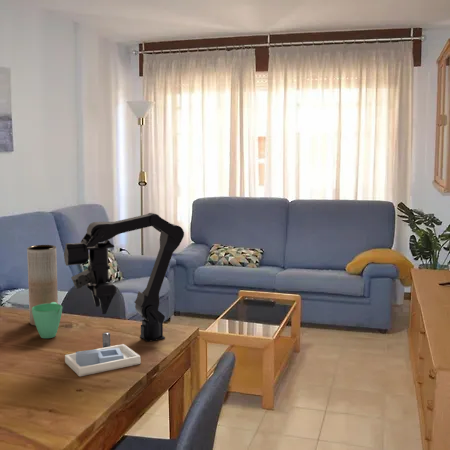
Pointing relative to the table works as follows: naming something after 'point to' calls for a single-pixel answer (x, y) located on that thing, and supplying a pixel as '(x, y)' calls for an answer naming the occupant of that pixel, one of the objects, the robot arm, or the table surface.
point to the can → (106, 339)
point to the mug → (47, 319)
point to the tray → (128, 360)
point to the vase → (42, 276)
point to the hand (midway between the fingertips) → (100, 310)
